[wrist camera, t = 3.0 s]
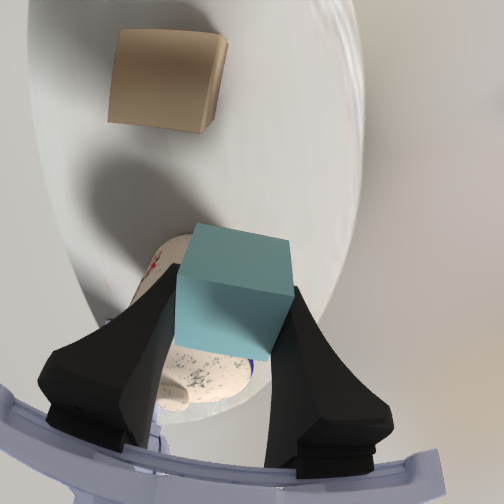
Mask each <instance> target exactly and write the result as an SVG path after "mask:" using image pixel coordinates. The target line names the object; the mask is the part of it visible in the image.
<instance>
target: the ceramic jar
mask: <svg viewBox="0 0 504 504" xmlns="http://www.w3.org/2000/svg"><path fill="white" fill-rule="evenodd" d="M191 237H192V234H185V235H181V236H177V237H175V238H172V239H170V240H168V241H167V242H165V243H164V244H163V245H162V246H161V247H159V249H158V250H157V251H156V253H155V254H154V256H153V258H152V260H151V262H150V264H149V266H148V268H147V270H146V272H145V274H144V276H143V278H142V280H141V282H140V284H139V286H138V288H137V290H136V293H135V295H134V297H133V299H132V301H131V303H130V305H129V307H130V306H131V305H132V304H133V303H134V302H135V301H136V300H138V299H139V298H140V297H141V296H142V295H143V294H144V293H145V292H146V291H147V290H148V289H149V288H150V287H151V286H152V285H153V284H154V283H155V282H156V281H157V280H158V279H159V278H160V277H161V276H162V274H163V273H164V272H165V271H166V270H167V269H168V267H169V266H170V265H171V264H172V263H177V264H181V263H182V260H183V257H184V255H185V252H186V249H187V247H188V244H189V242H190V239H191ZM174 337H175V335H174ZM253 367H254V364H253V360H252V359H246V358H239V357H233V356H227V355H221V354H216V353H210V352H205V351H200V350H195V349H190V348H185V347H180V346H176V345H174V338H173V341H172V343H171V346H170V349H169V352H168V354H167V357H166V360H165V363H164V366H163V370H162V374H161V378H160V383H159V387H158V392H157V397H156V402H157V404H158V405H159V406H161V407H163V408H165V409H167V410H171V411H182V410H184V409H186V408H187V407H188V405H189V402H213V401H219V400H223V399H226V398H229V397H231V396H234V395H235V394H237V393H238V392H240V391H241V390H242V389H243V388H244V387H245V386H246V385H247V383H248V382H249V379H250V377H251V375H252V373H253Z"/></svg>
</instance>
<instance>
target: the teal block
mask: <svg viewBox="0 0 504 504" xmlns="http://www.w3.org/2000/svg"><path fill="white" fill-rule="evenodd" d="M294 297H295V295H294V285H293V274H292V265H291V255H290V246H289V241H288V240H283V239H279V238H274V237H269V236H264V235H259V234H254V233H249V232H244V231H239V230H233V229H228V228H223V227H218V226H213V225H208V224H202V223H197V224H196V227H195V229H194V232H193V234H192V237H191V239H190V242H189V244H188V247H187V249H186V252H185V255H184V257H183V260H182V263H181V265H180V268H179V271H178V273H177V284H176V305H175V337H174V345H176V346H180V347H185V348H190V349H195V350H200V351H205V352H210V353H216V354H221V355H227V356H233V357H239V358H246V359H252V360H259V361H266V362H267V360H268V358H269V355H270V353H271V351H272V348H273V346H274V344H275V342H276V339H277V337H278V335H279V332H280V330H281V328H282V325H283V323H284V321H285V318H286V316H287V314H288V311H289V309H290V306H291V304H292V302H293V299H294Z"/></svg>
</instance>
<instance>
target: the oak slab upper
mask: <svg viewBox="0 0 504 504" xmlns="http://www.w3.org/2000/svg"><path fill="white" fill-rule="evenodd" d="M226 43H227V39H226V38H224V37H223V36H222V35H221V34H214V33H206V32H196V31H183V30H166V29H120V33H119V38H118V43H117V49H116V55H115V61H114V68H113V75H112V83H111V91H110V101H109V112H108V122H111V123H122V124H132V125H141V126H150V127H158V128H165V129H172V130H179V131H186V132H192V133H198V134H200V133H201V132H202V131H203V130H204V129H205V128H206V127H207V126H208V125H209V123H210V118H211V113H212V107H213V102H214V97H215V92H216V88H217V83H218V78H219V73H220V69H221V64H222V60H223V56H224V51H225V47H226Z"/></svg>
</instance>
